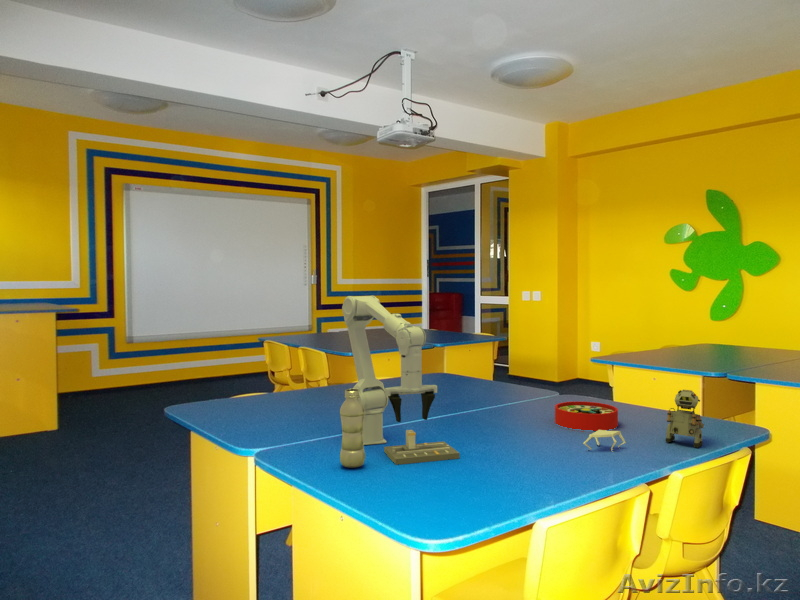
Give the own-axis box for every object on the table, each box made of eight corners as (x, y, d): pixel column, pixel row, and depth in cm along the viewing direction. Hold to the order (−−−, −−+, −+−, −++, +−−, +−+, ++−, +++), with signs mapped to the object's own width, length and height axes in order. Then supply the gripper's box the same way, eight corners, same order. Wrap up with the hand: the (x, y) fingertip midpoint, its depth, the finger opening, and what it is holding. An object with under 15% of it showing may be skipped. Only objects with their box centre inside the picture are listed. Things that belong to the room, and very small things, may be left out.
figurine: (708, 441, 170) (709, 391, 169) (696, 450, 161) (696, 396, 161) (676, 436, 176) (676, 387, 176) (662, 443, 168) (663, 392, 167)
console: (395, 464, 150) (395, 456, 150) (384, 452, 162) (383, 444, 162) (459, 458, 155) (459, 450, 155) (444, 446, 167) (443, 439, 167)
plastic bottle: (352, 461, 154) (351, 386, 153) (370, 466, 149) (370, 389, 149) (334, 467, 149) (333, 390, 148) (353, 472, 144) (352, 393, 144)
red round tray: (542, 404, 197) (589, 399, 205) (542, 421, 197) (589, 415, 205) (581, 416, 179) (631, 410, 186) (581, 435, 179) (631, 428, 186)
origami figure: (602, 442, 170) (602, 426, 170) (627, 449, 163) (627, 432, 163) (575, 449, 163) (575, 432, 163) (600, 456, 156) (600, 439, 156)
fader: (405, 453, 155) (405, 433, 155) (402, 449, 159) (401, 430, 158) (419, 451, 156) (419, 432, 156) (415, 448, 160) (415, 429, 160)
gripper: (390, 374, 151) (390, 425, 152) (441, 371, 156) (441, 421, 156) (382, 370, 158) (383, 419, 158) (432, 367, 162) (432, 415, 163)
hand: (411, 420), depth 158 cm, fingers open, 7 cm apart
